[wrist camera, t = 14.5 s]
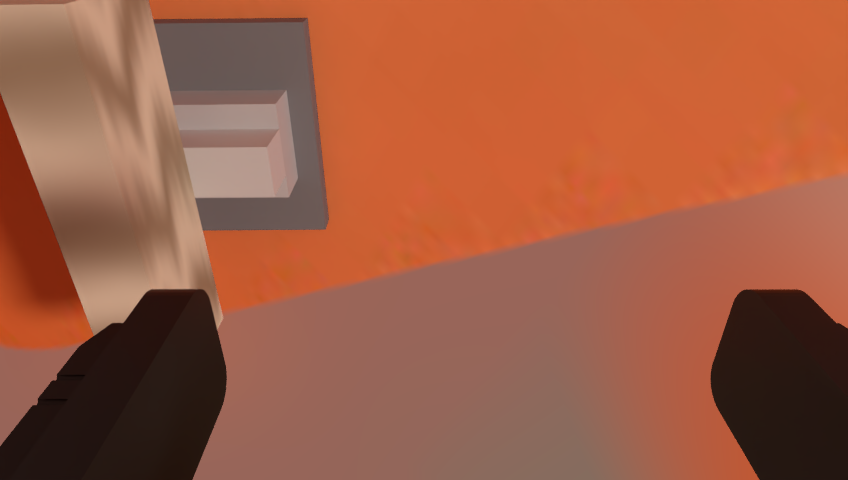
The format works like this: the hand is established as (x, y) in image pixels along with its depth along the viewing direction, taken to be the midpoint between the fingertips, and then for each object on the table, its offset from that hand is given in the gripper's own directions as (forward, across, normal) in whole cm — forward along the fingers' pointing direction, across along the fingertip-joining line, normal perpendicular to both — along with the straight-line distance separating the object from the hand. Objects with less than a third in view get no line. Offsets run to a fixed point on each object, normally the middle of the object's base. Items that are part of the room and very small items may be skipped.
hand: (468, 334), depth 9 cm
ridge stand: (+30, +16, +7) cm, 35 cm away
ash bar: (+23, +16, +7) cm, 28 cm away
